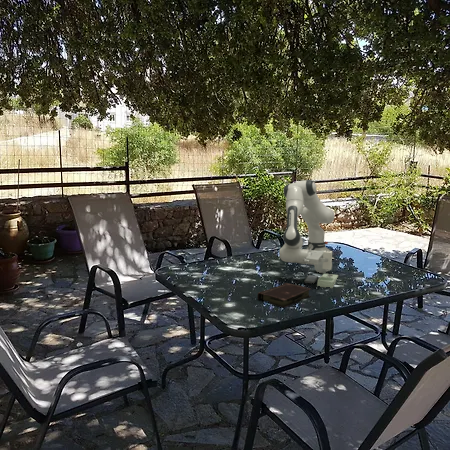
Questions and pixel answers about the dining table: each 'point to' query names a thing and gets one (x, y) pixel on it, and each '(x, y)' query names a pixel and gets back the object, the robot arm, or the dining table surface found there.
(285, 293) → the diary
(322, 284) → the green desk organizer
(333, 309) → the dining table surface
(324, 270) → the mug
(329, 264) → the charger
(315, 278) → the phone
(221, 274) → the dining table surface
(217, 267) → the dining table surface
